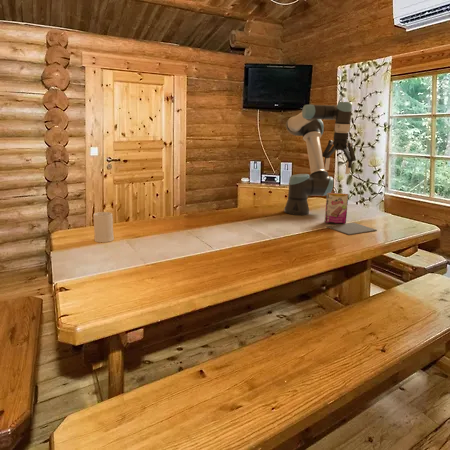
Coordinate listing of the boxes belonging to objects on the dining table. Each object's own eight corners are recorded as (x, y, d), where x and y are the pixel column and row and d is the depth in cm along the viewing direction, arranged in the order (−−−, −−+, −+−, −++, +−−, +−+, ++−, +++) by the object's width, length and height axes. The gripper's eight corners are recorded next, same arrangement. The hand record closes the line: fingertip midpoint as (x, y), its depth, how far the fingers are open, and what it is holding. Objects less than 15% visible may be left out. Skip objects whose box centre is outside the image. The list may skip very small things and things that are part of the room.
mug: (92, 236, 183) (91, 210, 180) (111, 234, 186) (110, 209, 183) (95, 243, 172) (93, 216, 169) (115, 241, 176) (114, 215, 173)
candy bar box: (325, 222, 216) (327, 192, 215) (324, 221, 221) (326, 192, 220) (346, 223, 215) (348, 193, 214) (344, 223, 220) (346, 193, 219)
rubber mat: (326, 227, 210) (326, 226, 210) (353, 223, 220) (353, 222, 220) (348, 235, 197) (348, 233, 197) (376, 230, 206) (376, 229, 206)
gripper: (318, 130, 217) (314, 168, 223) (357, 134, 198) (352, 176, 204) (327, 130, 221) (322, 168, 228) (366, 133, 203) (360, 174, 209)
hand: (336, 171), depth 216 cm, fingers open, 13 cm apart
